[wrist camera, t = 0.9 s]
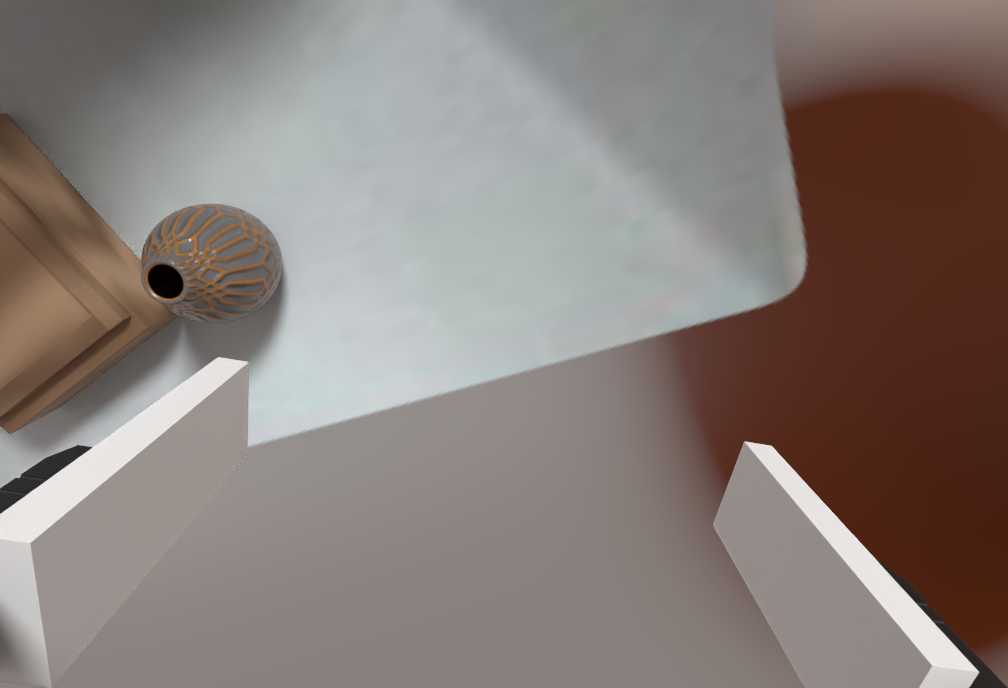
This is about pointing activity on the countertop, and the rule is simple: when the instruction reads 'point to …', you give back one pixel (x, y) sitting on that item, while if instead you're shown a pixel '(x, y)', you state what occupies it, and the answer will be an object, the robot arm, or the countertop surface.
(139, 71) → the countertop surface
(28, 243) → the brown wooden flat box
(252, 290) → the vase
